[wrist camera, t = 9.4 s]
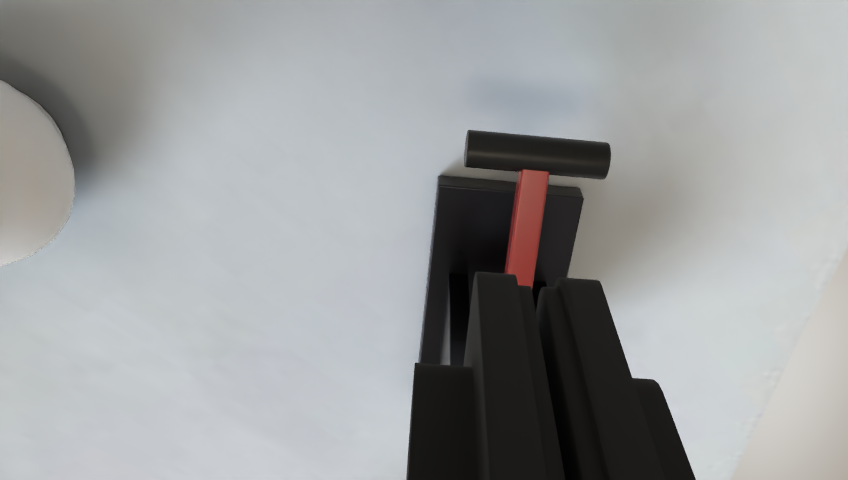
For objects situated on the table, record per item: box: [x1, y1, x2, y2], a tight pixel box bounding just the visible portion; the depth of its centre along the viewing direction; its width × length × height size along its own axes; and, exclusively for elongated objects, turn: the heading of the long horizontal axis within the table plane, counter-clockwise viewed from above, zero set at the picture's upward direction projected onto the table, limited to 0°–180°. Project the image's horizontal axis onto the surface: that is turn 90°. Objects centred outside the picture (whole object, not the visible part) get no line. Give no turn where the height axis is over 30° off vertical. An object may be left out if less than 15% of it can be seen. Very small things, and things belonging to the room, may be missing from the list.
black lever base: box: [418, 176, 584, 366], centre depth 34 cm, size 14×7×10 cm, turn 175°
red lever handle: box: [464, 130, 611, 289], centre depth 30 cm, size 13×6×2 cm, turn 175°
